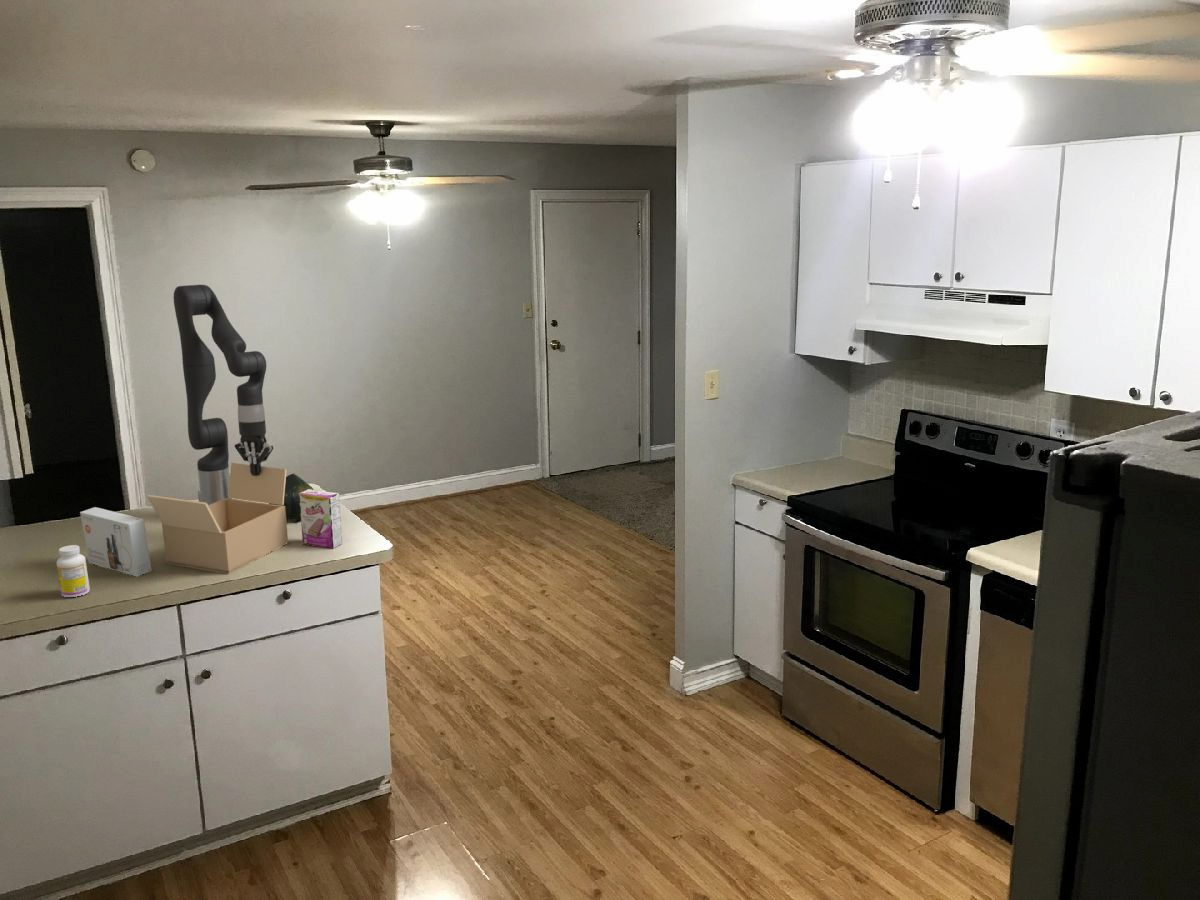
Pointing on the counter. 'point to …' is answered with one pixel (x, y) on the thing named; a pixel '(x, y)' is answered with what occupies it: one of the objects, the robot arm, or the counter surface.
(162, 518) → the front flap
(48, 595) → the counter surface
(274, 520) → the carton
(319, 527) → the candy bar box
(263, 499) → the back flap
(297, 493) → the squash
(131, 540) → the skincare box
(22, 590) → the counter surface
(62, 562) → the supplement bottle
